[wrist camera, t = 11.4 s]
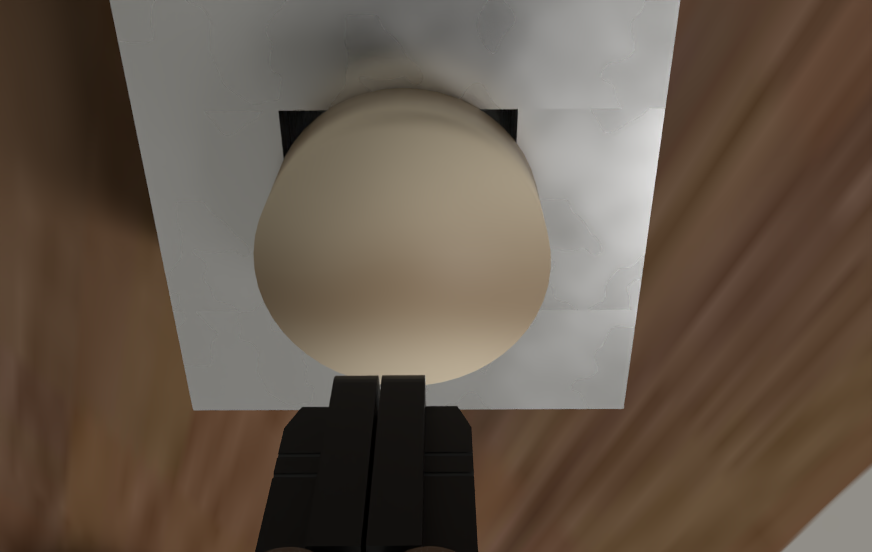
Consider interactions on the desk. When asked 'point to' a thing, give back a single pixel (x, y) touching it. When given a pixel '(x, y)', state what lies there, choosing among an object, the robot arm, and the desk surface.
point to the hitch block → (387, 69)
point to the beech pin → (403, 238)
